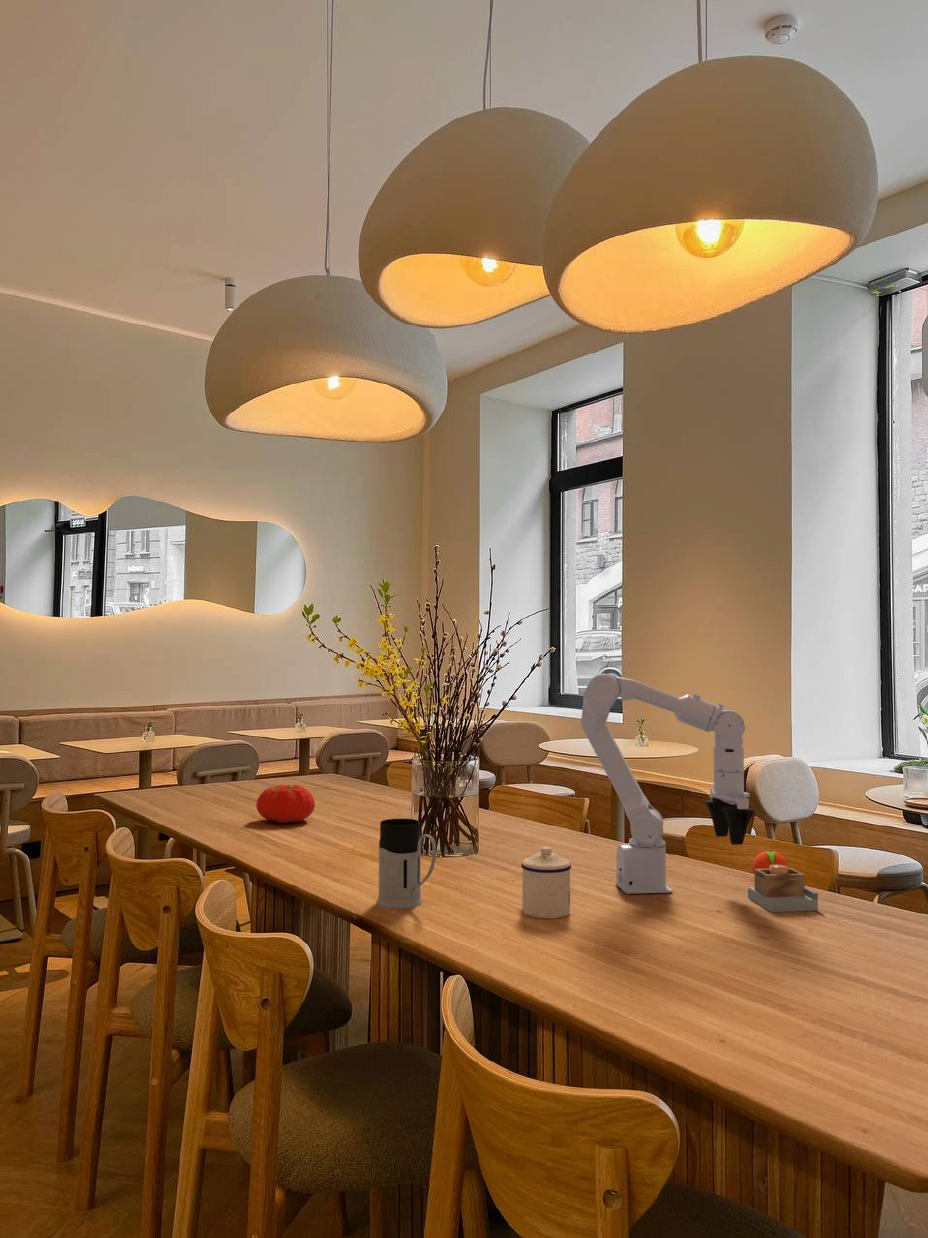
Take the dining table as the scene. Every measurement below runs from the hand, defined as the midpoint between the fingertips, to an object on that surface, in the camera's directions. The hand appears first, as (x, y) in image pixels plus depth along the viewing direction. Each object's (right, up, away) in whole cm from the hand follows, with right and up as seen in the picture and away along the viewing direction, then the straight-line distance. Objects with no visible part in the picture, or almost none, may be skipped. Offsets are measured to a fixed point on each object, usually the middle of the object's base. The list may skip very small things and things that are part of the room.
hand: (729, 840), depth 179 cm
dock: (+8, -10, -8) cm, 15 cm away
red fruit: (+10, -11, +6) cm, 16 cm away
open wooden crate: (+7, -8, -8) cm, 13 cm away
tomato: (-102, -13, +74) cm, 126 cm away
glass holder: (-62, -10, -9) cm, 64 cm away
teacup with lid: (-38, -10, -13) cm, 41 cm away
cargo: (+7, -5, -8) cm, 12 cm away
